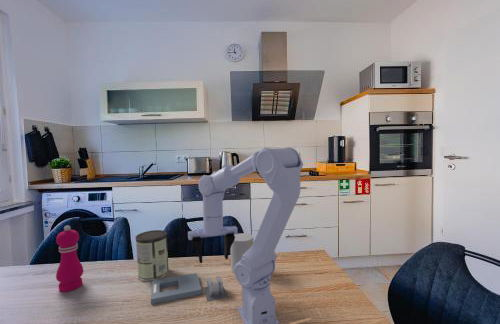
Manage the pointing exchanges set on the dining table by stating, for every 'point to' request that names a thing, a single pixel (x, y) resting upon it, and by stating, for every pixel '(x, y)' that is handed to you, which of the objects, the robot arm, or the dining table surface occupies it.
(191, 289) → the board
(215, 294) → the clip
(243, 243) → the cup
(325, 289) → the dining table surface
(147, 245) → the coffee can
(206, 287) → the pad
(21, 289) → the dining table surface
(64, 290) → the pepper mill
